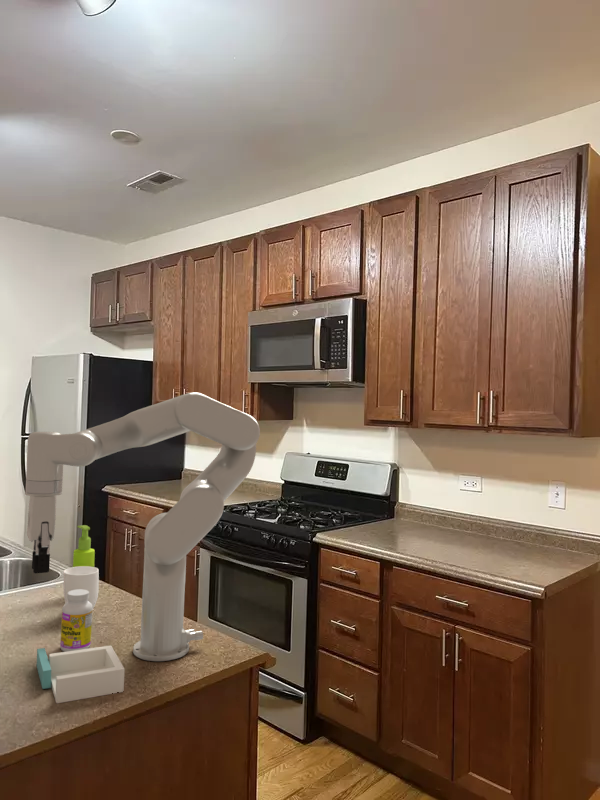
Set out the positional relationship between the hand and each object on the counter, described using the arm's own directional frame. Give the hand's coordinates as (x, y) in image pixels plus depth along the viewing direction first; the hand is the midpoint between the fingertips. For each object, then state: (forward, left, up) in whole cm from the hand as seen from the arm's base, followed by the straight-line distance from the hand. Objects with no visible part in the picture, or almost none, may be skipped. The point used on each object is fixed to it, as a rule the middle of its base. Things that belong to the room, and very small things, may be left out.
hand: (40, 570), depth 139 cm
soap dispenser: (-16, -42, -19) cm, 49 cm away
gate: (0, +11, -19) cm, 22 cm away
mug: (-13, -26, -19) cm, 35 cm away
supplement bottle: (-8, -2, -19) cm, 21 cm away
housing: (-7, +17, -19) cm, 27 cm away
